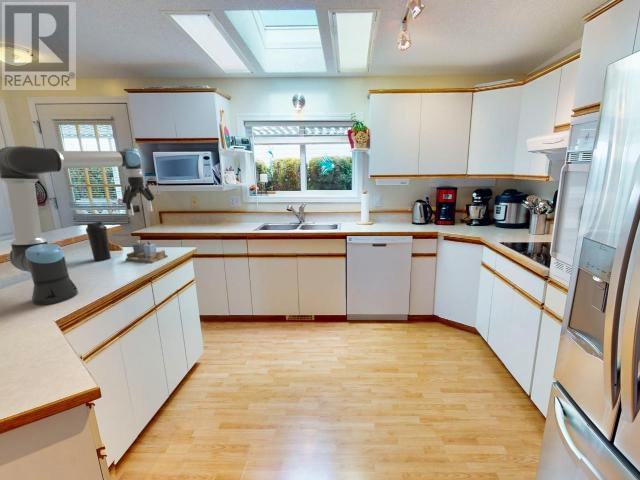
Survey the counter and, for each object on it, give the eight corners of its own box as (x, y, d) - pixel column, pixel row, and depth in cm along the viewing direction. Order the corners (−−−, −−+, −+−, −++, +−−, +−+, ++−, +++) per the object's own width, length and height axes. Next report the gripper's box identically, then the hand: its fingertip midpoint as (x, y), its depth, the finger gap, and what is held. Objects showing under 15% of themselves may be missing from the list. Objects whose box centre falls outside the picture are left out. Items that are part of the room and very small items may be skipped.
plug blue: (145, 258, 181) (142, 242, 179) (151, 255, 185) (148, 240, 183) (151, 258, 180) (148, 242, 177) (157, 256, 184) (154, 240, 182)
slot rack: (152, 262, 176) (151, 256, 175) (125, 260, 182) (124, 253, 181) (167, 256, 188) (166, 250, 187) (141, 254, 193) (140, 248, 192)
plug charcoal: (134, 257, 183) (132, 241, 181) (140, 255, 187) (138, 239, 185) (140, 257, 182) (138, 241, 180) (146, 255, 186) (144, 240, 184)
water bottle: (116, 256, 189) (109, 221, 184) (103, 261, 180) (95, 224, 174) (101, 256, 190) (94, 221, 185) (88, 261, 181) (80, 224, 175)
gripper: (121, 177, 158) (128, 217, 164) (157, 175, 182) (162, 210, 187) (110, 177, 160) (117, 216, 166) (147, 175, 184) (152, 209, 189)
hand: (141, 213), depth 176 cm, fingers open, 13 cm apart
